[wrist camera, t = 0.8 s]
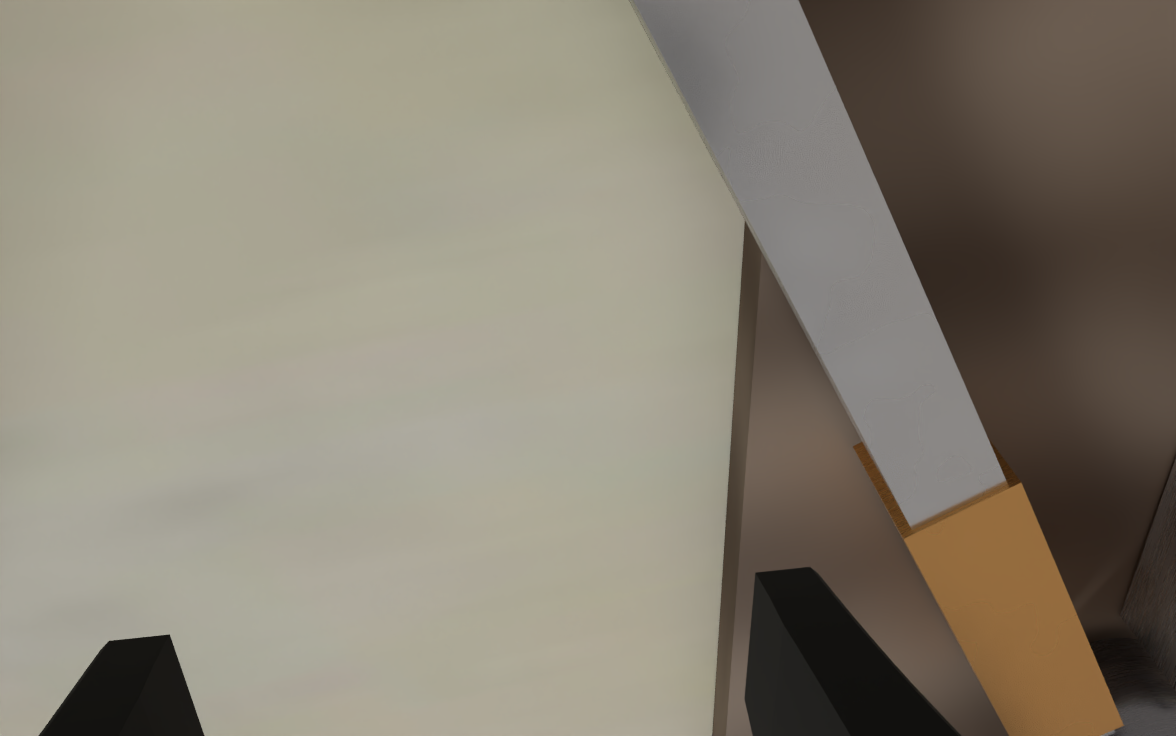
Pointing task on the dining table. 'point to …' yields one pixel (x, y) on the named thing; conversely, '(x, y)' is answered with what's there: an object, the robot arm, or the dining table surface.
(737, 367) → the walnut board
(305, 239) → the dining table surface
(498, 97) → the dining table surface
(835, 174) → the tong arm
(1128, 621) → the grey long bar
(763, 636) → the robot arm
